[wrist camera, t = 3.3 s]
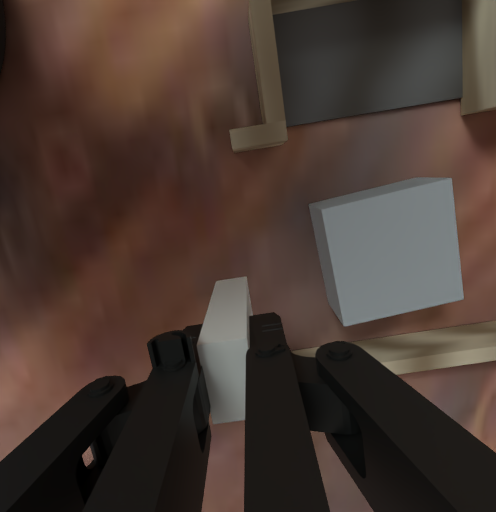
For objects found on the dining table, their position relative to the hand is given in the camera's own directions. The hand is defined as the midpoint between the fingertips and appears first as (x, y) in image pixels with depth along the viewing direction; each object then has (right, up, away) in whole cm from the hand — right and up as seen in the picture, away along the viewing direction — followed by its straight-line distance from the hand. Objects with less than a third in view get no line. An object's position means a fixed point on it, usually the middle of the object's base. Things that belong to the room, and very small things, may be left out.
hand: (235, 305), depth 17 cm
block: (+9, +3, +6) cm, 11 cm away
